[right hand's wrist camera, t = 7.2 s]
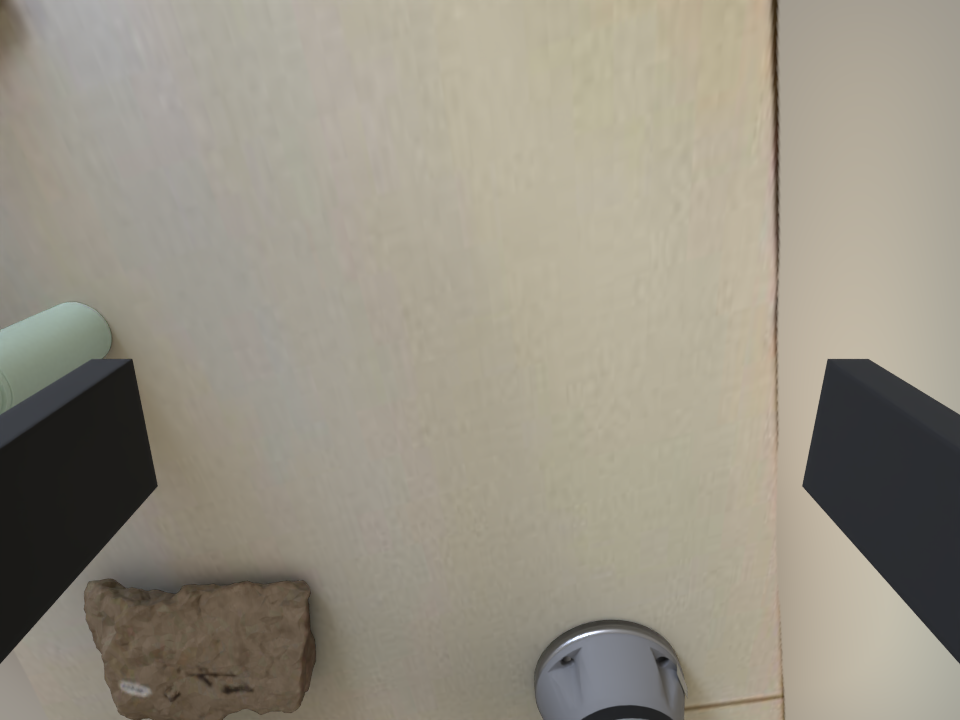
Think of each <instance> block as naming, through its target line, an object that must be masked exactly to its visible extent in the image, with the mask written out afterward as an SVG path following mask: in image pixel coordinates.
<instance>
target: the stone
mask: <svg viewBox="0 0 960 720" xmlns="http://www.w3.org/2000/svg"><path fill="white" fill-rule="evenodd" d="M310 594H311V592H310V588H309V586H308V585H307V583H306V582H305V581H293V582H291V581H282V582H275V583H269V584H260V583H252V582H249V581H244V582H240V583H233V584H231V585H226V586H219V585H215V584H210V585H196V584H192V585H184V586H182V588H181V589H180V591H179V592H178V593H176V594H173V593H167V592H164V591H161V590H151V591H145V590H143V589H137V588H133V587H131V588H125V587H123V586H122V585H121V584H120V583H118V582H117V581H116V580H114V579H104V580H99V581H89V582H88V584H87V587H86V589H85V591H84V600H85V605H84V610H85V613H86V621H87V623H88V625H89V629H90V631H91V632H92V635H93V640H94V642H95V644H96V648H97V649H98V650H99V651H100V652H101V654H102V660H103V662H104V670H105V681H106V683H107V685H108V686H109V688H110V690H111V694H112V698H113V701H114V703H115V704H116V707H117V709H118V712H119V713H120V715H123V716H125V717H127V718H129V719H132V720H141V719H146V718H150V719H152V720H223V719H224V717H226V716H227V715H228V714H230V713H235V712H238V711H240V710H242V709H249V710H252V711H255V712H257V713H258V714H260V715H262V714H265V713H267V712H272V711H282V712H284V713H292V712H294V711H296V710H297V709H298V708H299V707H300V705H301V701H302V700H303V697H304V694H305V692H307V691H308V689H309V686H310V680H311V675H312V671H313V667H314V664H315V659H316V651H315V640H314V638H313V635H312V633H311V630H310V615H309V603H308V598H309V596H310Z"/></svg>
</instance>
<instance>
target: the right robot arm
mask: <svg viewBox="0 0 960 720" xmlns="http://www.w3.org/2000/svg"><path fill="white" fill-rule="evenodd" d="M157 486H158V485H157V480H156V475H155V470H154V465H153V460H152V455H151V450H150V445H149V440H148V435H147V430H146V425H145V420H144V415H143V410H142V405H141V400H140V395H139V390H138V385H137V380H136V375H135V370H134V365H133V360H132V359H91V360H89V361H88V362H86V363H84V364H83V365H81V366H79V367H78V368H76V369H75V370H73V371H71V372H70V373H68V374H66V375H65V376H63V377H61V378H60V379H58V380H57V381H55V382H53V383H52V384H50V385H48V386H47V387H45V388H43V389H42V390H40V391H38V392H37V393H35V394H34V395H32V396H30V397H29V398H27V399H25V400H24V401H22V402H20V403H19V404H17V405H15V406H14V407H12V408H11V409H9V410H7V411H6V412H4V413H2V414H1V415H0V663H1V662H2V661H3V660H4V659H5V658H6V657H7V656H8V654H9V653H10V652H11V651H12V650H13V649H14V648H15V647H16V645H17V644H18V643H19V642H20V641H21V640H22V639H23V638H24V636H25V635H26V634H27V633H28V632H29V631H30V630H31V628H32V627H33V626H34V625H35V624H36V623H37V622H38V621H39V619H40V618H41V617H42V616H43V615H44V614H45V613H46V612H47V610H48V609H49V608H50V607H51V606H52V605H53V604H54V603H55V601H56V600H57V599H58V598H59V597H60V596H61V595H62V594H63V592H64V591H65V590H66V589H67V588H68V587H69V586H70V584H71V583H72V582H73V581H74V580H75V579H76V578H77V577H78V575H79V574H80V573H81V572H82V571H83V570H84V569H85V568H86V566H87V565H88V564H89V563H90V562H91V561H92V560H93V559H94V557H95V556H96V555H97V554H98V553H99V552H100V551H101V550H102V548H103V547H104V546H105V545H106V544H107V543H108V542H109V541H110V539H111V538H112V537H113V536H114V535H115V534H116V533H117V531H118V530H119V529H120V528H121V527H122V526H123V525H124V524H125V522H126V521H127V520H128V519H129V518H130V517H131V516H132V515H133V513H134V512H135V511H136V510H137V509H138V508H139V507H140V506H141V504H142V503H143V502H144V501H145V500H146V499H147V498H148V497H149V495H150V494H151V493H152V492H153V491H154V490H155V489H156V487H157ZM803 487H804V489H805V490H806V491H807V492H808V493H809V494H810V495H811V496H812V498H813V499H814V500H815V501H816V502H817V503H818V504H819V506H820V507H821V508H822V509H823V510H824V511H825V512H826V513H827V515H828V516H829V517H830V518H831V519H832V520H833V521H834V522H835V523H836V525H837V526H838V527H839V528H840V529H841V530H842V531H843V533H844V534H845V535H846V536H847V537H848V538H849V539H850V540H851V542H852V543H853V544H854V545H855V546H856V547H857V548H858V549H859V551H860V552H861V553H862V554H863V555H864V556H865V557H866V558H867V560H868V561H869V562H870V563H871V564H872V565H873V566H874V568H875V569H876V570H877V571H878V572H879V573H880V574H881V575H882V577H883V578H884V579H885V580H886V581H887V582H888V583H889V584H890V586H891V587H892V588H893V589H894V590H895V591H896V592H897V594H898V595H899V596H900V597H901V598H902V599H903V600H904V601H905V603H906V604H907V605H908V606H909V607H910V608H911V609H912V610H913V612H914V613H915V614H916V615H917V616H918V617H919V618H920V619H921V621H922V622H923V623H924V624H925V625H926V626H927V627H928V628H929V630H930V631H931V632H932V633H933V634H934V635H935V636H936V638H937V639H938V640H939V641H940V642H941V643H942V644H943V645H944V646H945V648H946V649H947V650H948V651H949V652H950V653H951V654H952V656H953V657H954V658H955V659H956V660H957V661H958V662H959V663H960V415H959V414H958V413H956V412H954V411H953V410H951V409H949V408H948V407H946V406H945V405H943V404H941V403H940V402H938V401H936V400H935V399H933V398H931V397H930V396H928V395H926V394H925V393H923V392H922V391H920V390H918V389H917V388H915V387H913V386H912V385H910V384H908V383H907V382H905V381H903V380H902V379H900V378H899V377H897V376H895V375H894V374H892V373H890V372H889V371H887V370H885V369H884V368H882V367H880V366H879V365H877V364H876V363H874V362H872V361H871V360H869V359H828V360H827V365H826V370H825V375H824V380H823V385H822V390H821V395H820V400H819V405H818V410H817V415H816V420H815V425H814V430H813V435H812V440H811V445H810V450H809V455H808V460H807V465H806V470H805V475H804V480H803ZM534 686H535V696H536V703H537V706H538V709H539V711H540V713H541V716H542V718H543V720H684V699H685V694H686V697H687V699H688V688H687V685H686V683H685V680H684V675H683V672H682V669H681V666H680V663H679V661H678V658H677V656H676V653H675V651H674V650H673V648H672V647H671V645H670V644H669V643H668V642H667V641H666V640H665V639H664V638H663V637H662V636H661V635H659V634H658V633H656V632H655V631H653V630H651V629H649V628H647V627H645V626H642V625H640V624H636V623H633V622H628V621H620V620H604V621H596V622H591V623H587V624H584V625H581V626H578V627H575V628H573V629H571V630H569V631H567V632H565V633H564V634H562V635H561V636H559V637H558V638H557V639H555V640H554V641H553V642H552V643H551V644H550V645H549V646H548V647H547V648H546V649H545V651H544V652H543V654H542V655H541V657H540V659H539V661H538V663H537V666H536V669H535V675H534Z"/></svg>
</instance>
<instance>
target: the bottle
mask: <svg viewBox="0 0 960 720" xmlns="http://www.w3.org/2000/svg"><path fill="white" fill-rule="evenodd" d="M111 341H112V337H111V331H110V328H109V326H108V324H107V322H106V321H105V319H104V318H103V317H102V316H101V315H100V314H99V313H98V312H97V311H96V310H94V309H93V308H91V307H89V306H87V305H85V304H81V303H77V302H66V303H62V304H59V305H57V306H54V307H52V308H50V309H48V310H45V311H43V312H41V313H38V314H36V315H34V316H31V317H29V318H27V319H24V320H22V321H20V322H17V323H15V324H13V325H10V326H8V327H6V328H4V329H1V330H0V415H1V414H2V413H4V412H6V411H7V410H9V409H11V408H12V407H14V406H15V405H17V404H19V403H20V402H22V401H24V400H25V399H27V398H29V397H30V396H32V395H34V394H35V393H37V392H38V391H40V390H42V389H43V388H45V387H47V386H48V385H50V384H52V383H53V382H55V381H57V380H58V379H60V378H61V377H63V376H65V375H66V374H68V373H70V372H71V371H73V370H75V369H76V368H78V367H79V366H81V365H83V364H84V363H86V362H88V361H89V360H91V359H102V358H104V357H105V356H106V355H107V353H108V352H109V349H110V347H111Z"/></svg>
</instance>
